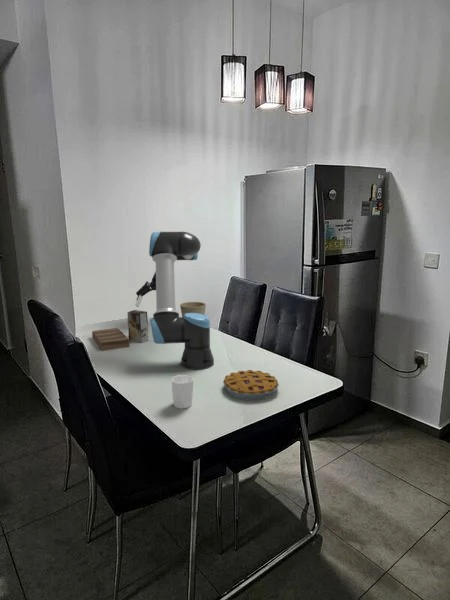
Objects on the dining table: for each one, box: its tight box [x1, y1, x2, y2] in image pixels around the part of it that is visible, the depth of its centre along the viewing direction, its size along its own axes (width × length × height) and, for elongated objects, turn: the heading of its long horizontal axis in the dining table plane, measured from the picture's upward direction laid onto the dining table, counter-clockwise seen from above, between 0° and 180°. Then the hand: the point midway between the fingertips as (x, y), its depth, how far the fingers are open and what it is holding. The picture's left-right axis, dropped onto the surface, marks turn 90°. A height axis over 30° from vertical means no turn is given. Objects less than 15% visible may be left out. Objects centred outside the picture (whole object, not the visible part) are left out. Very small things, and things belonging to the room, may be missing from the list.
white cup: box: [170, 374, 194, 410], centre depth 149 cm, size 8×8×10 cm
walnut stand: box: [91, 327, 130, 352], centre depth 219 cm, size 24×14×4 cm, turn 29°
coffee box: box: [126, 309, 149, 344], centre depth 221 cm, size 9×6×16 cm
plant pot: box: [179, 301, 207, 317], centre depth 240 cm, size 15×15×16 cm
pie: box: [222, 369, 280, 401], centre depth 162 cm, size 22×22×5 cm
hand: (147, 307), depth 229 cm, fingers open, 13 cm apart
